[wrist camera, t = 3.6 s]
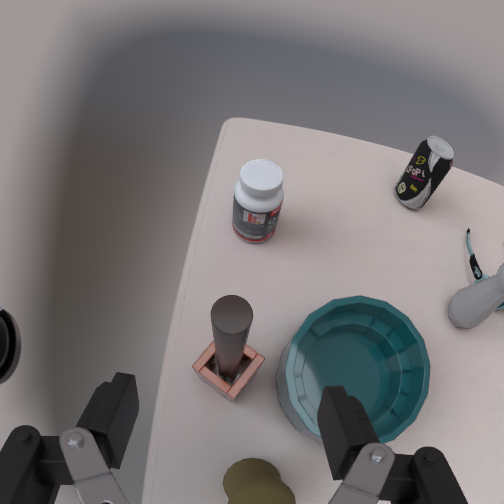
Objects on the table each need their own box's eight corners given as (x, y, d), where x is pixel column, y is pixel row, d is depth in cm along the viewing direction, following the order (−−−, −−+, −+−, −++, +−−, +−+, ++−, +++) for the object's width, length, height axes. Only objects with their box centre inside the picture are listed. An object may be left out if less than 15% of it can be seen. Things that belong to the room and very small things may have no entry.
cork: (258, 516, 25) (273, 554, 15) (211, 488, 26) (205, 518, 17) (292, 476, 27) (321, 498, 18) (245, 447, 29) (254, 460, 19)
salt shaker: (442, 328, 37) (505, 289, 26) (443, 291, 40) (500, 245, 28) (472, 336, 37) (534, 301, 25) (472, 301, 39) (528, 259, 28)
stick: (214, 374, 32) (202, 317, 15) (226, 360, 33) (228, 286, 16) (229, 385, 32) (236, 343, 14) (241, 371, 33) (261, 310, 15)
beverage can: (387, 186, 49) (417, 132, 38) (411, 183, 50) (442, 132, 39) (403, 214, 46) (440, 161, 36) (428, 209, 47) (464, 160, 37)
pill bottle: (274, 247, 41) (287, 198, 32) (229, 241, 41) (231, 190, 32) (276, 211, 44) (288, 159, 35) (235, 206, 44) (238, 153, 35)
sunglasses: (470, 309, 38) (490, 291, 34) (453, 234, 48) (467, 214, 44) (524, 319, 38) (543, 304, 34) (505, 251, 47) (519, 234, 43)
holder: (197, 376, 32) (191, 366, 26) (224, 345, 34) (223, 327, 28) (232, 402, 31) (233, 399, 25) (257, 370, 33) (265, 358, 27)
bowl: (247, 396, 32) (252, 392, 27) (324, 291, 39) (339, 269, 33) (360, 467, 28) (384, 473, 23) (421, 357, 35) (448, 345, 30)
